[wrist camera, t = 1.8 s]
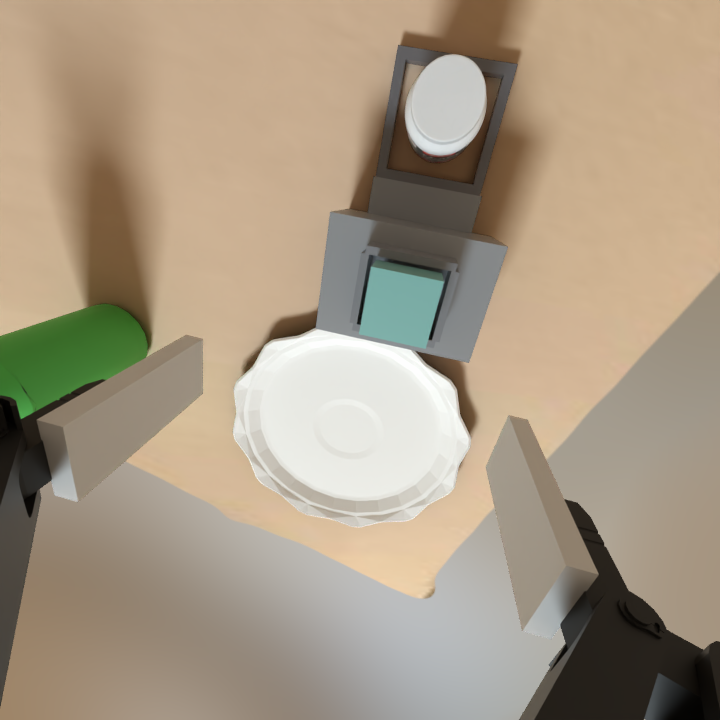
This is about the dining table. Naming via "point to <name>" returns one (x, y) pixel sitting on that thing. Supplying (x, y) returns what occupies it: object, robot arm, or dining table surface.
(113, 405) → the robot arm
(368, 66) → the dining table surface
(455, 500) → the dining table surface
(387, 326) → the teal square block
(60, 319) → the bottle
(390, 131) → the housing
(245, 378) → the plate
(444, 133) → the pill bottle
